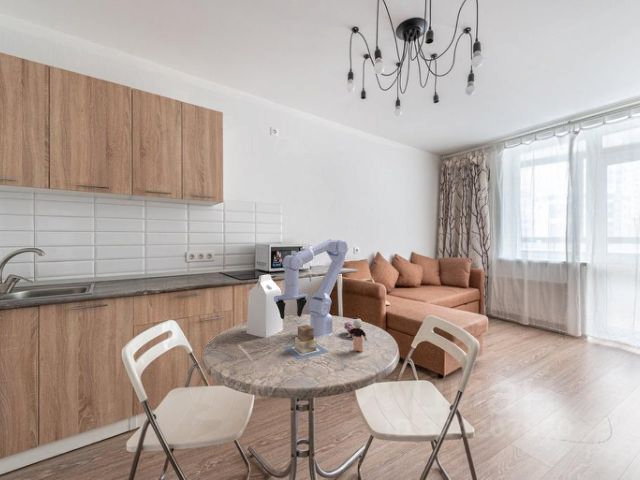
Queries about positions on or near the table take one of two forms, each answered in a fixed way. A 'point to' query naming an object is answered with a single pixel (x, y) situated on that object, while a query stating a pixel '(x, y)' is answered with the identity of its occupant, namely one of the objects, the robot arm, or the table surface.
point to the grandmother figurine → (358, 335)
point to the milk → (264, 308)
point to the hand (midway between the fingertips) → (290, 317)
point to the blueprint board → (299, 355)
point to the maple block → (305, 346)
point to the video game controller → (349, 327)
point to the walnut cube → (305, 333)
